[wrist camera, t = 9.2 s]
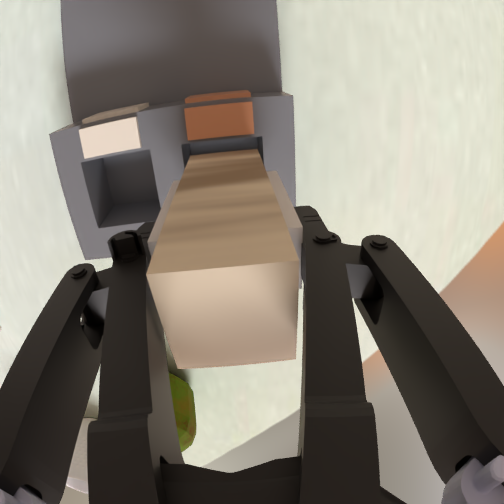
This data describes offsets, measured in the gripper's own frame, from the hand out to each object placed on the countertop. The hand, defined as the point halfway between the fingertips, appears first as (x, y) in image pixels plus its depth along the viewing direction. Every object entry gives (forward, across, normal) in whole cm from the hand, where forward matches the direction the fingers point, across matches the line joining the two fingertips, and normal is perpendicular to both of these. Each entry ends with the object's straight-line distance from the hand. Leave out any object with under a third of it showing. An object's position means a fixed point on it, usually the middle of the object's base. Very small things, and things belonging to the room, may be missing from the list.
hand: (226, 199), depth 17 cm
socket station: (+9, -4, +7) cm, 12 cm away
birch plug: (+3, 0, 0) cm, 3 cm away
